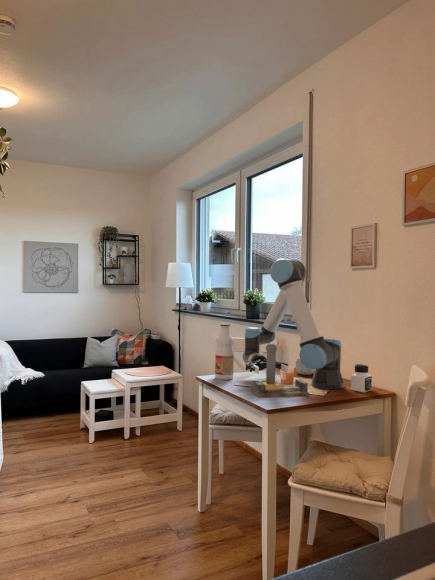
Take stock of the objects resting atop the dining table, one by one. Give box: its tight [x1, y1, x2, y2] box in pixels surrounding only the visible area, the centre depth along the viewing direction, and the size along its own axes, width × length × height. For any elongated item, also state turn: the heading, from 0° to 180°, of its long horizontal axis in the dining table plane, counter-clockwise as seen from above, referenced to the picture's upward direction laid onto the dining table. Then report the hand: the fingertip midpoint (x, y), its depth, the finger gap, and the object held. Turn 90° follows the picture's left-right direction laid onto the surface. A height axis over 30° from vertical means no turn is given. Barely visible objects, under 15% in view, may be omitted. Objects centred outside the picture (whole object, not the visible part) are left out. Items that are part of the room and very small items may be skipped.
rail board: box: [250, 378, 310, 398], centre depth 192 cm, size 23×12×5 cm, turn 103°
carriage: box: [260, 342, 282, 390], centre depth 191 cm, size 7×7×20 cm
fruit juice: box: [214, 323, 235, 381], centre depth 221 cm, size 9×9×28 cm
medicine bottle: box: [350, 363, 373, 394], centre depth 201 cm, size 7×7×12 cm
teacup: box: [294, 358, 316, 376], centre depth 238 cm, size 14×11×8 cm
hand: (272, 370), depth 188 cm, fingers open, 13 cm apart
